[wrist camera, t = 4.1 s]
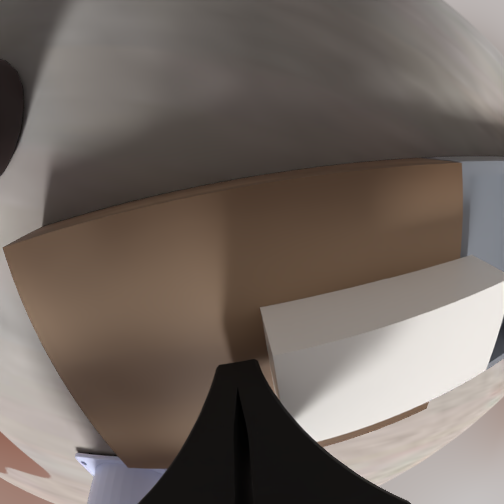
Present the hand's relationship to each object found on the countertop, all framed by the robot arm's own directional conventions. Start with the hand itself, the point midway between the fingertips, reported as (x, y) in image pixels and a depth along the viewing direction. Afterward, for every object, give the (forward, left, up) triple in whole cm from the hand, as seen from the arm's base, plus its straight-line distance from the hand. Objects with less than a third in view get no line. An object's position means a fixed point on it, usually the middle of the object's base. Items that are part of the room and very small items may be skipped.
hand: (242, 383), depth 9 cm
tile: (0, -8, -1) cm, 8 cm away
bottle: (+12, +11, -4) cm, 17 cm away
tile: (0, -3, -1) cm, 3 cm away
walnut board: (-1, -1, -4) cm, 4 cm away
